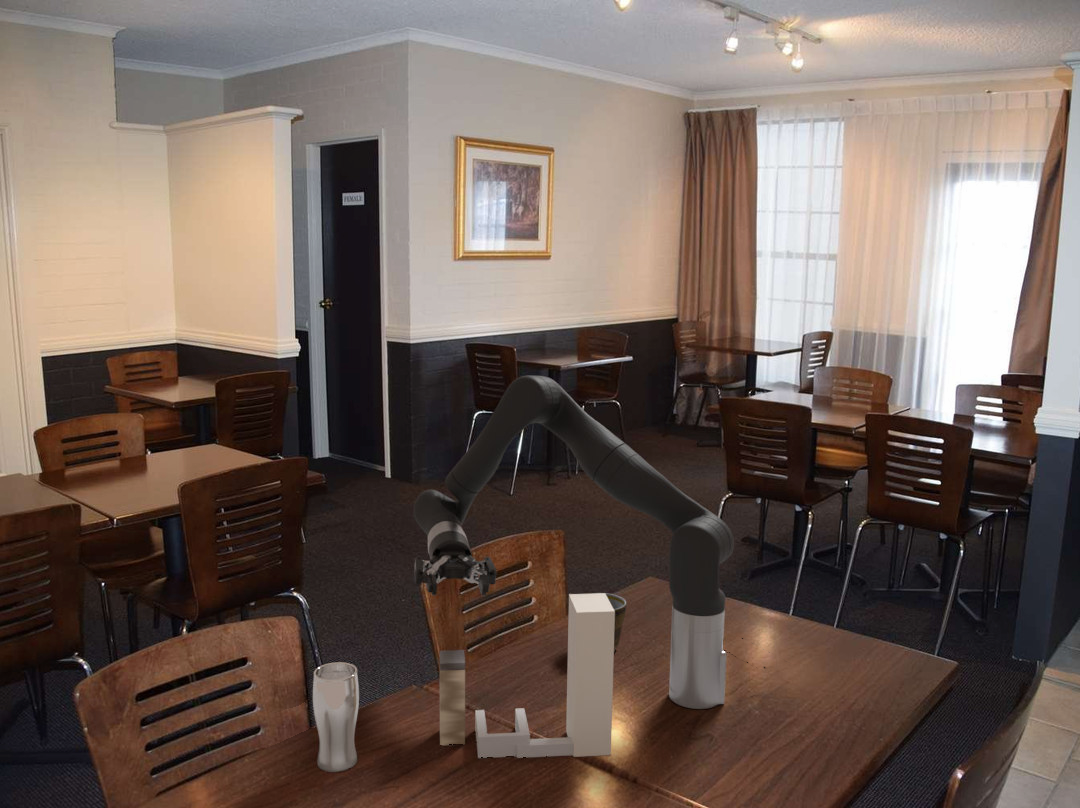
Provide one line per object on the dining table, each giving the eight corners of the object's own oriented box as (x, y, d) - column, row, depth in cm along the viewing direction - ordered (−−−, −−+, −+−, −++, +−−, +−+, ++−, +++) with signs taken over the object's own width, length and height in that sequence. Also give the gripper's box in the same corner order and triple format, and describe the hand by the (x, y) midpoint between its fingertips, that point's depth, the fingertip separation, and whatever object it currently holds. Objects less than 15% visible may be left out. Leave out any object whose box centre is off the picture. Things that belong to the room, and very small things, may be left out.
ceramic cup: (593, 634, 196) (594, 589, 194) (634, 646, 190) (635, 599, 189) (558, 655, 186) (559, 607, 184) (600, 668, 180) (601, 618, 178)
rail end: (463, 729, 156) (463, 649, 153) (464, 744, 151) (465, 662, 149) (439, 730, 155) (439, 650, 153) (440, 745, 150) (440, 663, 148)
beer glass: (349, 776, 141) (347, 683, 138) (306, 771, 142) (304, 678, 140) (366, 753, 147) (365, 663, 145) (325, 748, 149) (324, 659, 147)
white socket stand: (599, 724, 158) (602, 589, 154) (610, 754, 148) (614, 611, 144) (475, 730, 155) (475, 592, 152) (478, 761, 145) (479, 615, 142)
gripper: (412, 529, 171) (419, 570, 155) (488, 530, 174) (503, 570, 159) (409, 566, 173) (416, 610, 158) (484, 566, 176) (498, 610, 161)
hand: (459, 590), depth 158 cm, fingers open, 8 cm apart
